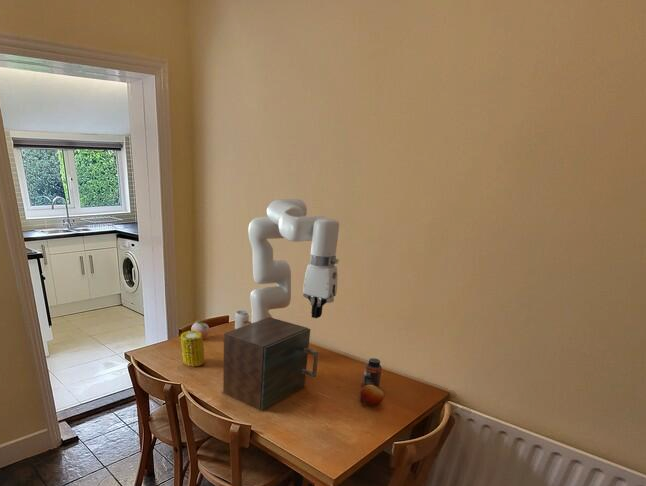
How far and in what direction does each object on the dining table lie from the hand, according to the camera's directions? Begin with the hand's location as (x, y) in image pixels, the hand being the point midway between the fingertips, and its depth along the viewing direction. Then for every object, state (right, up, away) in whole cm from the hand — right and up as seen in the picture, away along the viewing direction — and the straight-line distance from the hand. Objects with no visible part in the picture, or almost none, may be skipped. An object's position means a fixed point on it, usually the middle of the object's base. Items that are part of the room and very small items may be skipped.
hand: (316, 316), depth 136 cm
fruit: (+23, -30, +12) cm, 39 cm away
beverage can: (-19, 0, +77) cm, 79 cm away
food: (-42, -15, +44) cm, 63 cm away
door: (-6, -29, +14) cm, 32 cm away
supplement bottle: (+27, -24, +24) cm, 44 cm away
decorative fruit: (-40, -3, +71) cm, 81 cm away
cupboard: (-15, -25, +22) cm, 37 cm away
